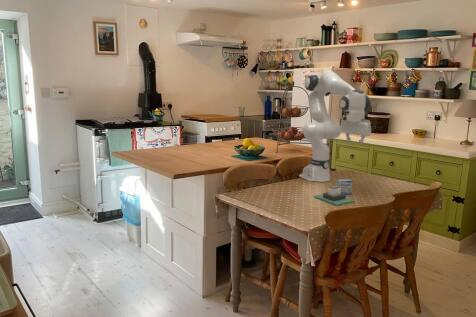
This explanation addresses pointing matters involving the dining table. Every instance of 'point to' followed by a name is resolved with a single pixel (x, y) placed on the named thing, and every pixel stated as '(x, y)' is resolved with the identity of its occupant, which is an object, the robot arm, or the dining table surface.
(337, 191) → the keyed plug
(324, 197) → the header board
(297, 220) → the dining table surface
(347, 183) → the medicine box
